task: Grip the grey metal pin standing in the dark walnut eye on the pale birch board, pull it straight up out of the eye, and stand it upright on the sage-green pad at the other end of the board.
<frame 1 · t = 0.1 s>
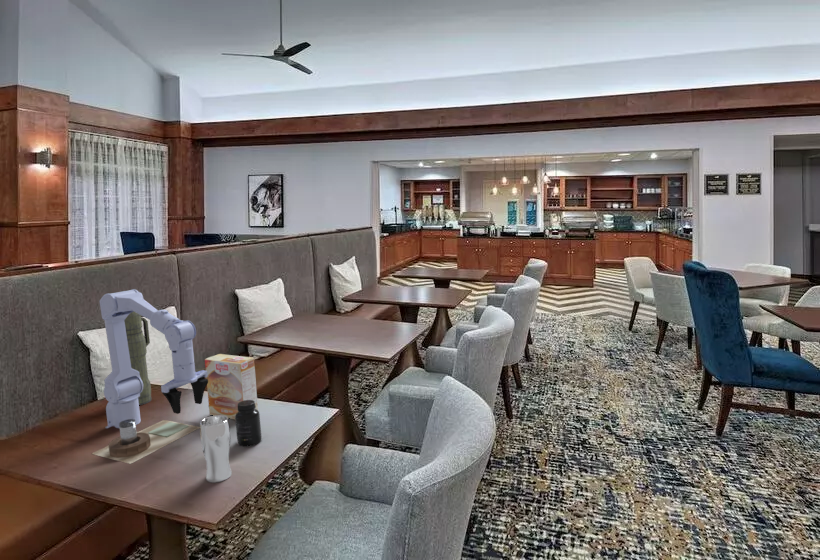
hand: (187, 407, 146), 10 cm above the table, tool pointing down, fingers open, 7 cm apart
board: (149, 442, 146), on the table
supplement bottle: (249, 442, 145), on the table
beer glass: (219, 477, 126), on the table
pin: (130, 448, 141), point 1 cm above the table, touching board
thermos: (138, 402, 180), on the table
coffeecake box: (234, 415, 165), on the table
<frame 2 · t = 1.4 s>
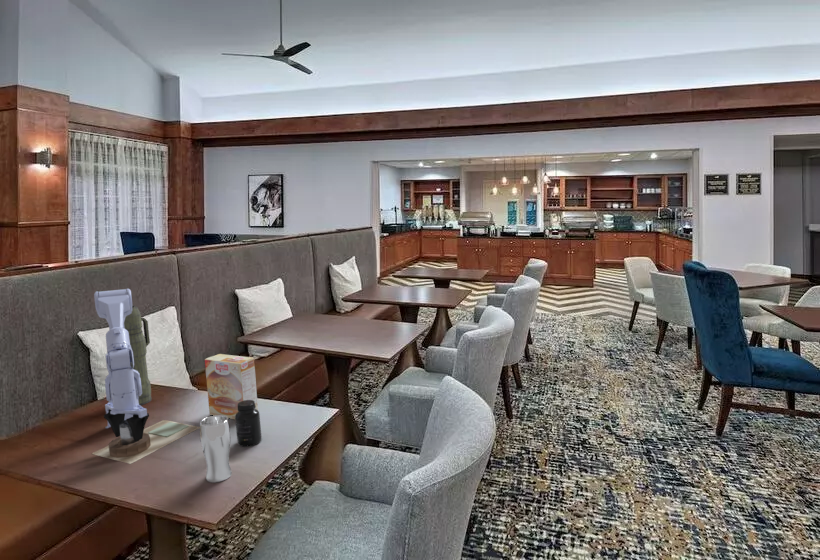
hand: (129, 437, 140), 4 cm above the table, tool pointing down, fingers open, 7 cm apart
nothing on the table moved.
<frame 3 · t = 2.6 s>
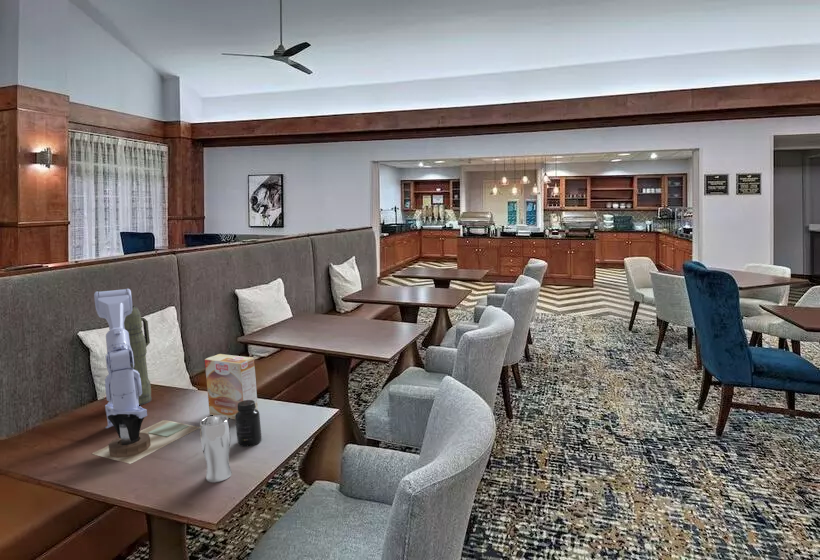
hand: (129, 438, 140), 4 cm above the table, tool pointing down, fingers closed on pin, 4 cm apart
pin: (130, 448, 141), point 1 cm above the table, touching board, gripper
everything else where it was.
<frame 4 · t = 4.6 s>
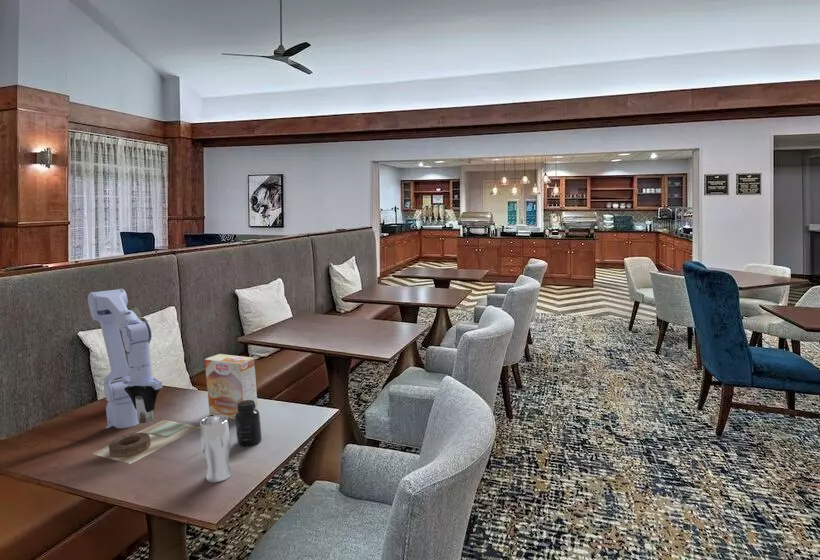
hand: (144, 409, 145), 10 cm above the table, tool pointing down, fingers closed on pin, 4 cm apart
pin: (145, 420, 145), point 7 cm above the table, touching gripper
everything else where it was.
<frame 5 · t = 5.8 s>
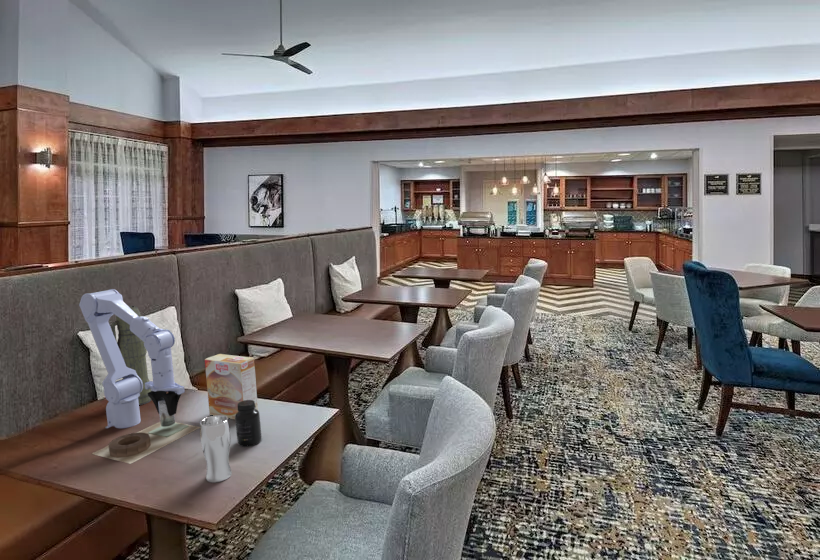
hand: (167, 413, 152), 6 cm above the table, tool pointing down, fingers closed on pin, 4 cm apart
pin: (168, 423, 152), point 3 cm above the table, touching gripper
everything else where it was.
when the fingers open (6 cm above the table, at t = 6.7 s): pin drops 1 cm, resting on board.
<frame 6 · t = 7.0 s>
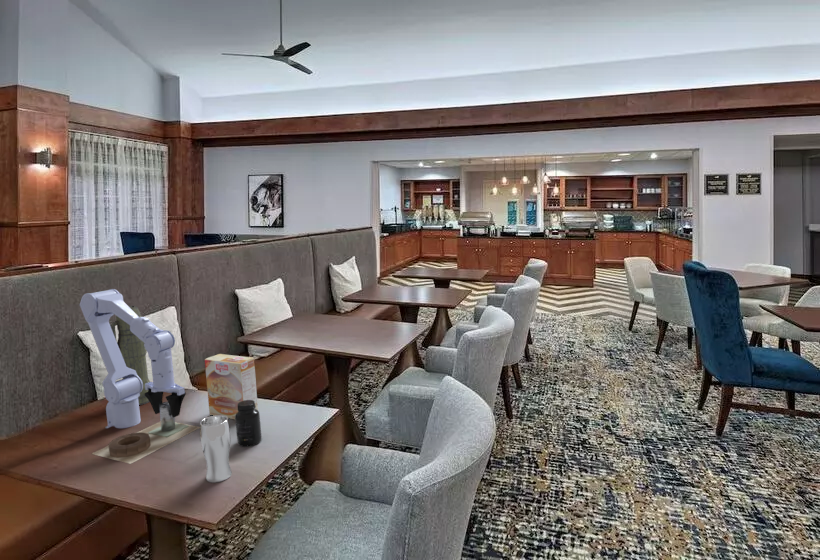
hand: (167, 414, 152), 6 cm above the table, tool pointing down, fingers open, 7 cm apart
pin: (168, 428, 152), point 1 cm above the table, touching board
everything else where it was.
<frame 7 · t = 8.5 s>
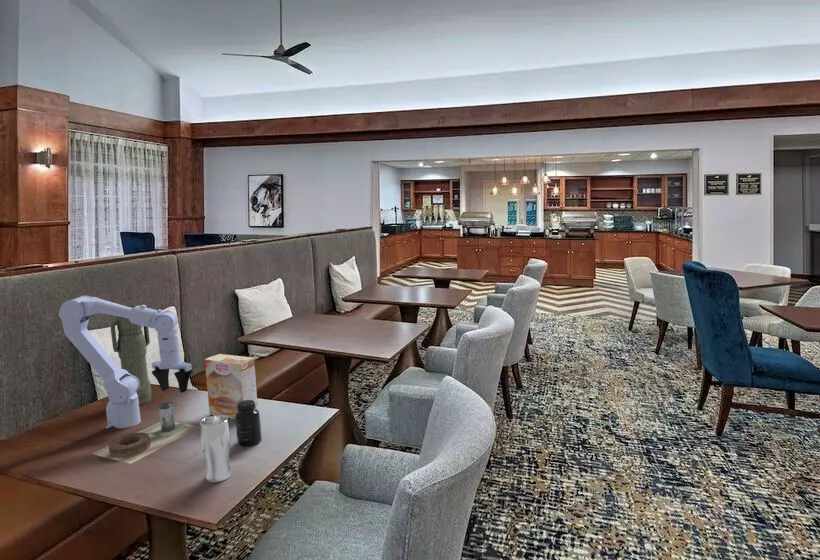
hand: (174, 390, 160), 10 cm above the table, tool pointing down, fingers open, 7 cm apart
nothing on the table moved.
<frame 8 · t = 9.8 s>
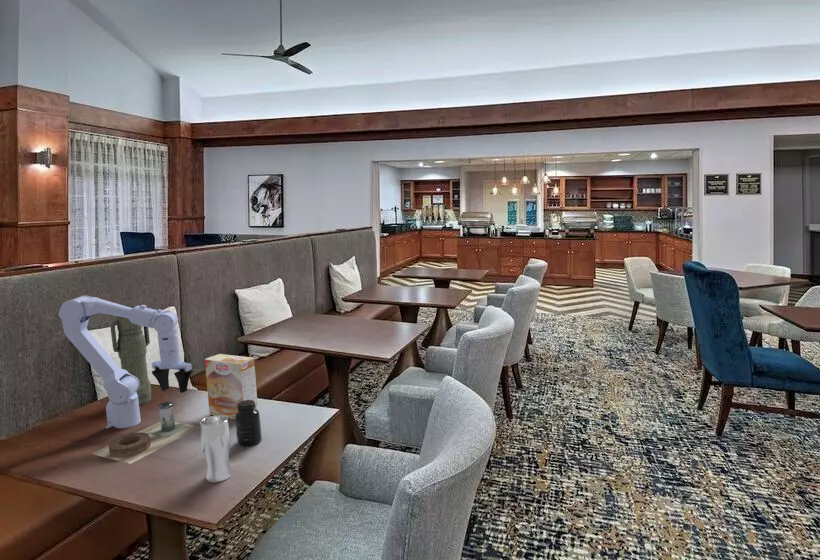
hand: (174, 390, 160), 10 cm above the table, tool pointing down, fingers open, 7 cm apart
nothing on the table moved.
at the end: pin inside the target area (0.1 cm from its centre), point 1.3 cm above the table; pin tilted 0°; the gripper is holding nothing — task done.
